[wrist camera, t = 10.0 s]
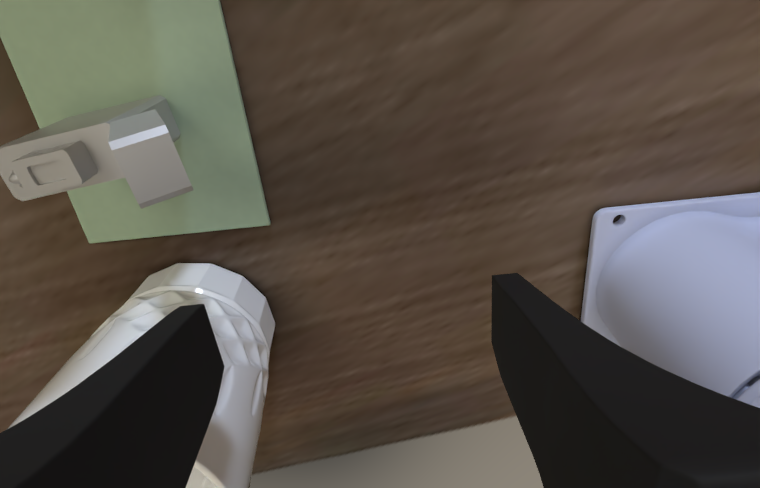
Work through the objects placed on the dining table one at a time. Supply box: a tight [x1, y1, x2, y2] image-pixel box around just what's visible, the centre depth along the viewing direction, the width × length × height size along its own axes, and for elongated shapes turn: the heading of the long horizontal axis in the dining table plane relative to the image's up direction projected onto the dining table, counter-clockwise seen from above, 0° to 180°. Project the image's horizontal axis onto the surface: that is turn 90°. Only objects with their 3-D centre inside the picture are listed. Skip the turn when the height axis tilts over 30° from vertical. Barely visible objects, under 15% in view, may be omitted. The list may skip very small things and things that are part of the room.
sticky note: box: [0, 0, 270, 243], centre depth 19 cm, size 8×10×1 cm
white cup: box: [8, 263, 275, 488], centre depth 19 cm, size 8×8×10 cm
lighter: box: [0, 95, 193, 209], centre depth 15 cm, size 7×2×8 cm, turn 103°
